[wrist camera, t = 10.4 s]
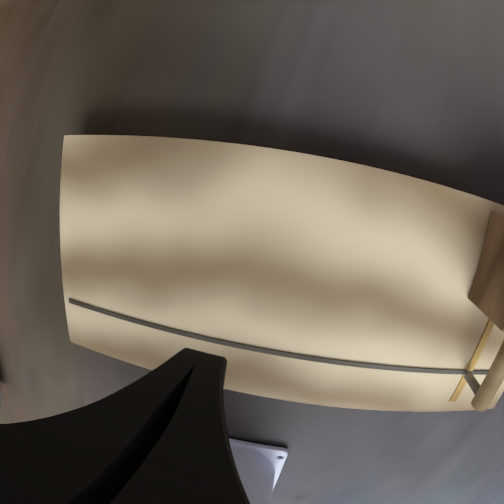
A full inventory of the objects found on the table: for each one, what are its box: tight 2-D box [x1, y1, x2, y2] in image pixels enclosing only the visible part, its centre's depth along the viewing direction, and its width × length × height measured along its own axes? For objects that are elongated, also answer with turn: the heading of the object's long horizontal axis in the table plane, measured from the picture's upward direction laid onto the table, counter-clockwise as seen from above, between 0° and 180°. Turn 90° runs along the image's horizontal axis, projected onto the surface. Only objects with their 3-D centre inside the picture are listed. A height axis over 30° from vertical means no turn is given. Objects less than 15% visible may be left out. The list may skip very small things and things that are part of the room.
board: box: [60, 135, 504, 411], centre depth 17 cm, size 14×32×2 cm, turn 82°
